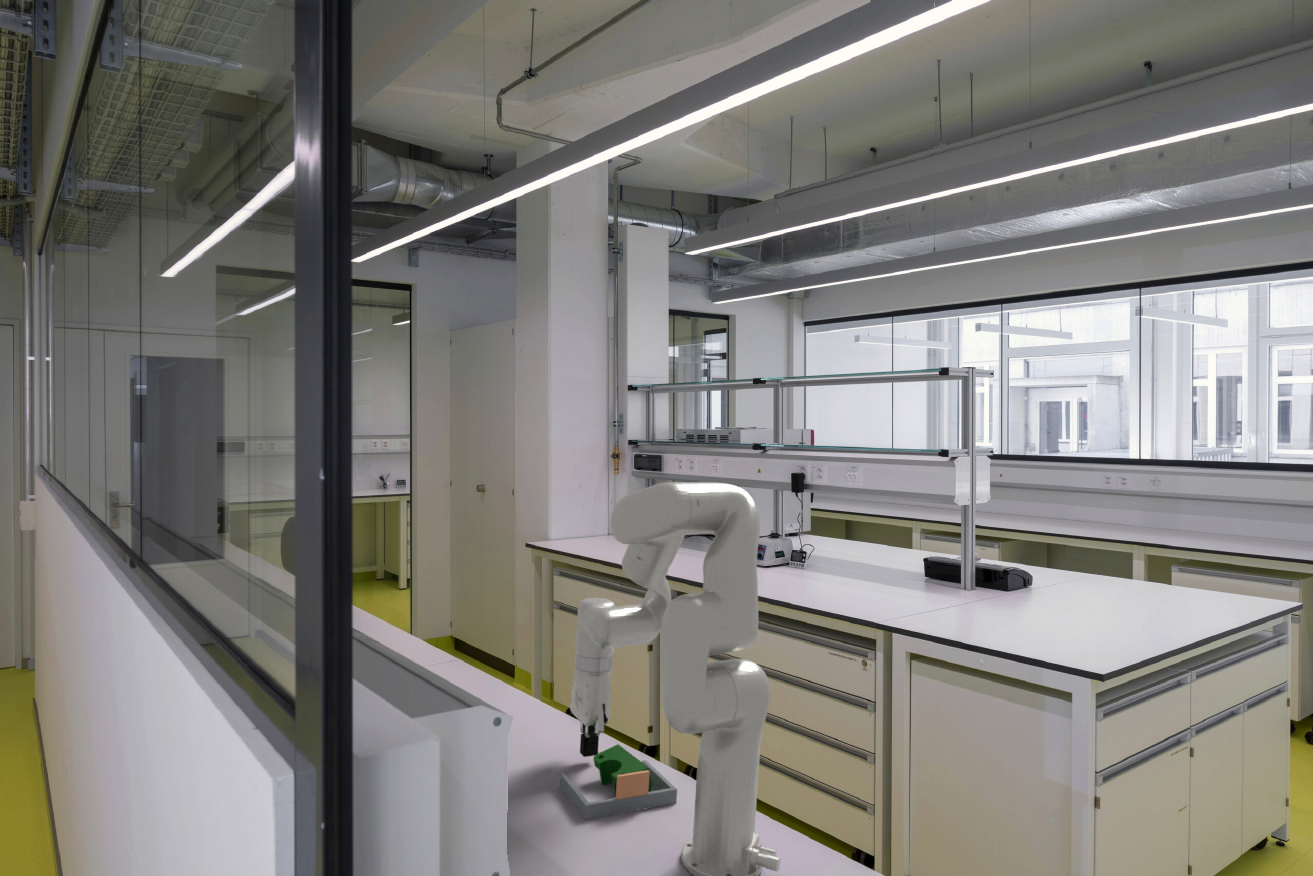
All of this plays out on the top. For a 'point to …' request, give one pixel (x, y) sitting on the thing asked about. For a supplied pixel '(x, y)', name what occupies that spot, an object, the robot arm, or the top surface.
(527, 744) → the top surface
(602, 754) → the clamp
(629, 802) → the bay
